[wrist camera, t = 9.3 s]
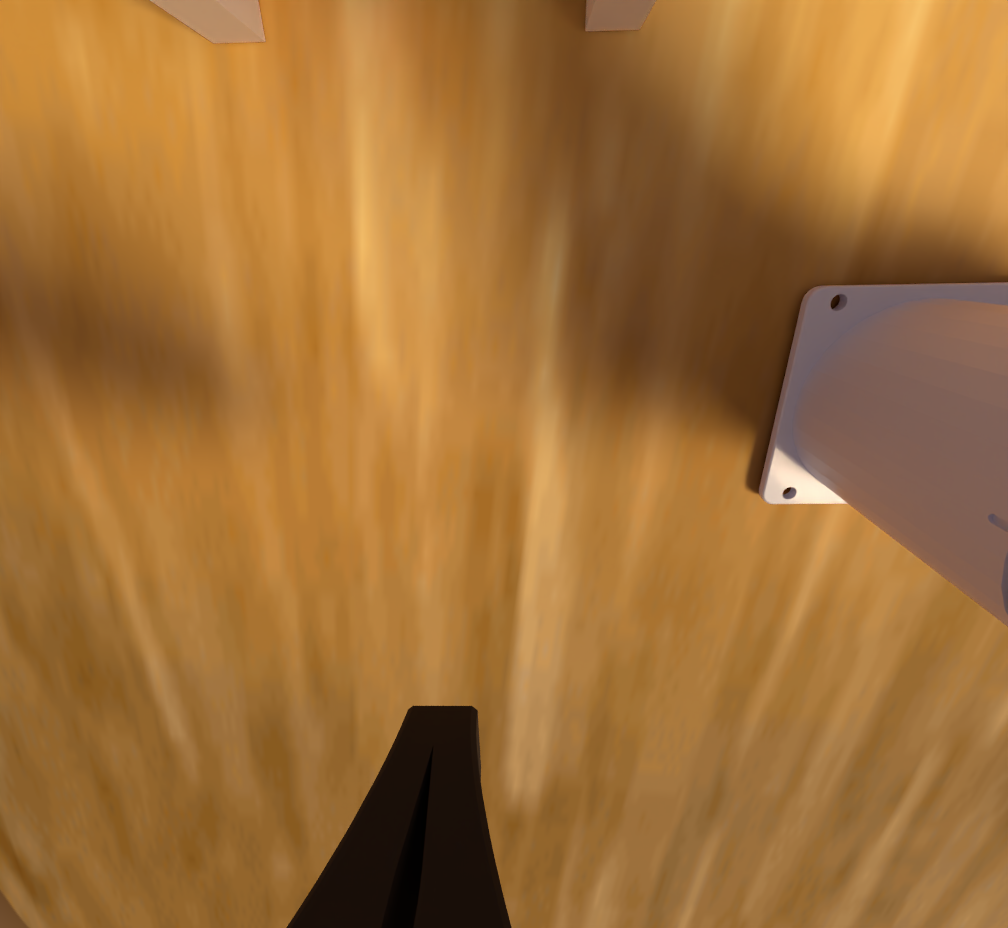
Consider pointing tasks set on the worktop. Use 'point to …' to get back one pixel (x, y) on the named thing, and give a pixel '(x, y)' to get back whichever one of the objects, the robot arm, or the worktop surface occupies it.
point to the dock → (236, 18)
